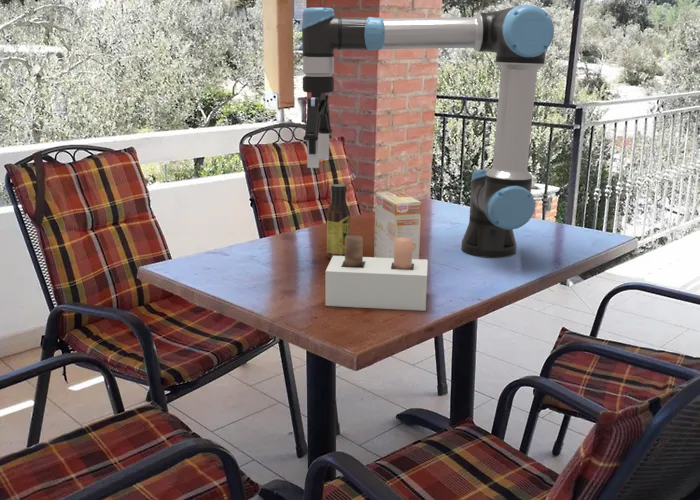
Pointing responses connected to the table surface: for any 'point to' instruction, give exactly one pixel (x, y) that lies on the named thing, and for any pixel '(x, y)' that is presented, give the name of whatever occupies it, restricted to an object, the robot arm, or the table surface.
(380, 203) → the coffeecake box
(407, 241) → the peg
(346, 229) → the sauce bottle
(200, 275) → the table surface
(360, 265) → the peg
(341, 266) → the block
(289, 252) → the table surface
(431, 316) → the table surface
